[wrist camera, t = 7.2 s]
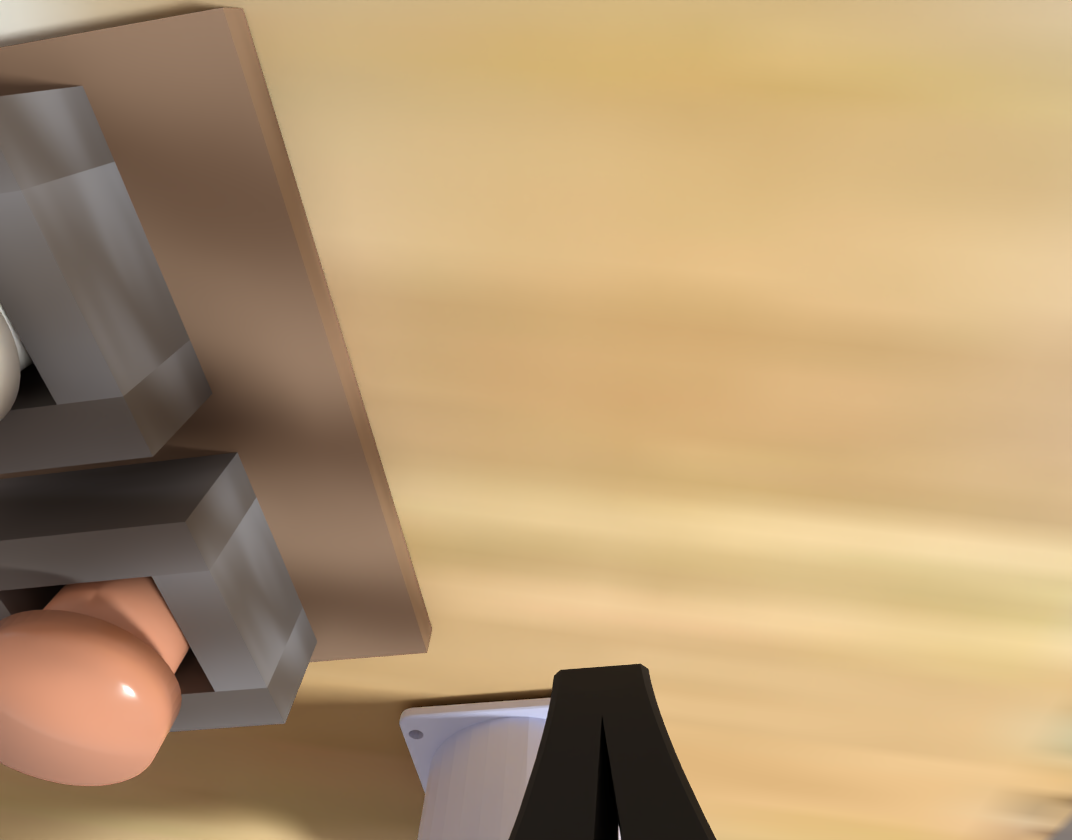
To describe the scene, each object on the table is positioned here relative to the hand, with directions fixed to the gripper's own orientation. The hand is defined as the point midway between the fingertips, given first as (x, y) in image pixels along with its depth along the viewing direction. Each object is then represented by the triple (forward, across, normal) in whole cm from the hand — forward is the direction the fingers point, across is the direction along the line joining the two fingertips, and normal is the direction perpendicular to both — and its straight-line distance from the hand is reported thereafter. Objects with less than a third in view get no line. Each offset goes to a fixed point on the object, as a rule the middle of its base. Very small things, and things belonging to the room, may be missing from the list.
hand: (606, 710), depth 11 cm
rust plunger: (+7, +13, +3) cm, 15 cm away
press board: (+9, +13, -2) cm, 16 cm away
